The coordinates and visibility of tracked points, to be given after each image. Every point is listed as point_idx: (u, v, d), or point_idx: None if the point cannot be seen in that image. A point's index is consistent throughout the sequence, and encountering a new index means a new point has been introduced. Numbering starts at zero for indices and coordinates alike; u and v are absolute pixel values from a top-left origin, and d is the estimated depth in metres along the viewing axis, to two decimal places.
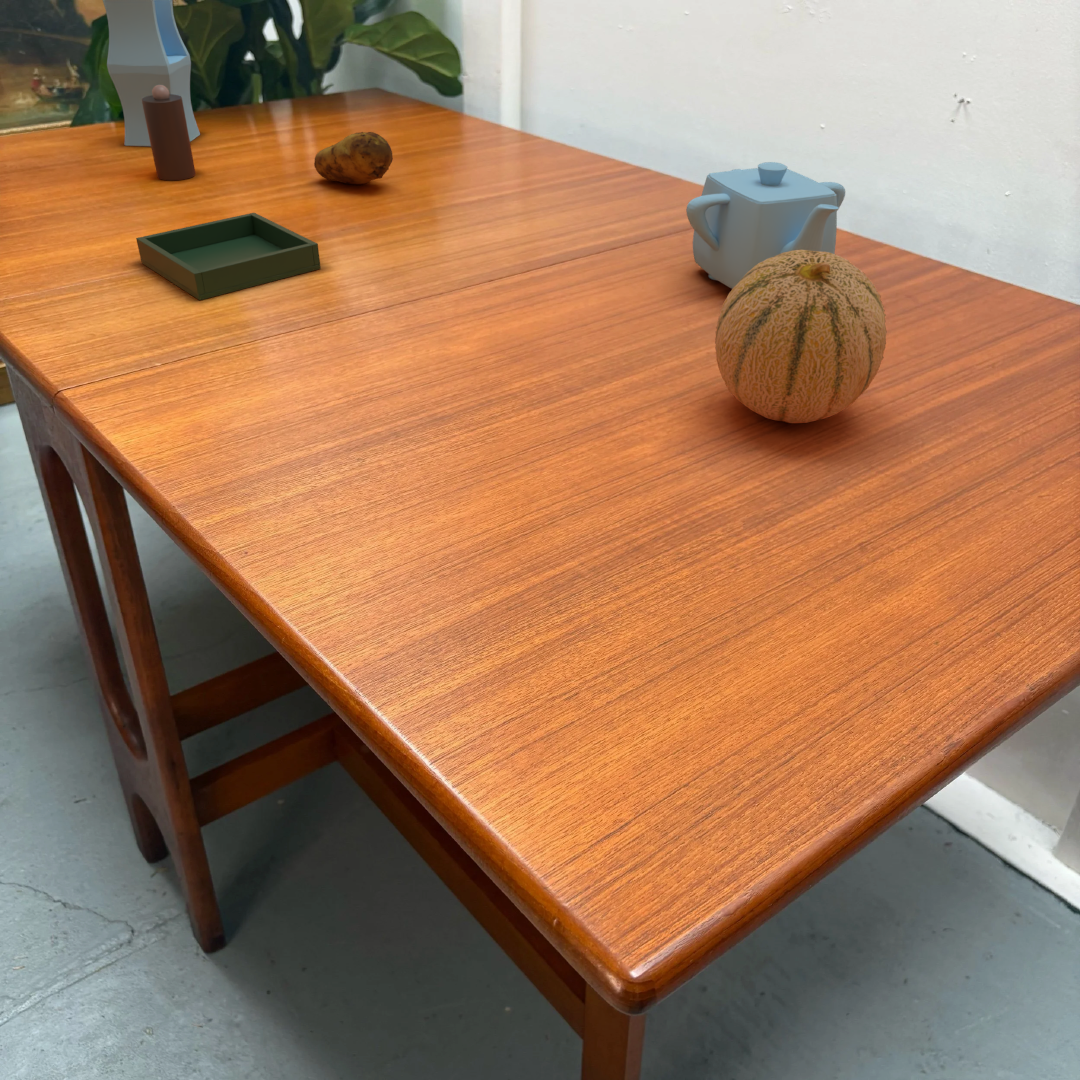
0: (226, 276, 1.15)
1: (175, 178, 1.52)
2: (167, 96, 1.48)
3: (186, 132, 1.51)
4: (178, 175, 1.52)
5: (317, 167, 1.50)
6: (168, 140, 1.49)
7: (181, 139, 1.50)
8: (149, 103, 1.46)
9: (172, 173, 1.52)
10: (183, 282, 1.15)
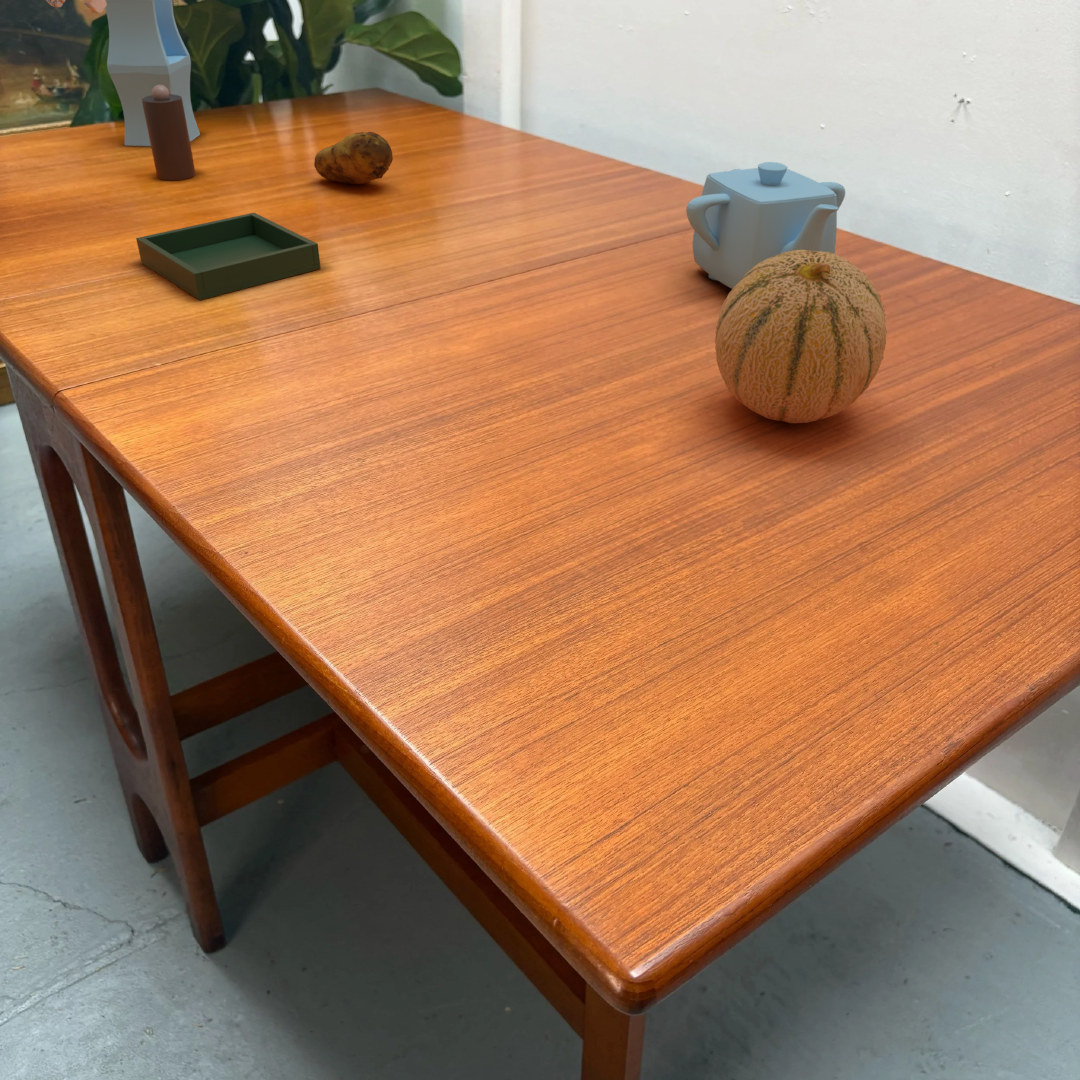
0: (226, 276, 1.15)
1: (175, 178, 1.52)
2: (167, 96, 1.48)
3: (186, 132, 1.51)
4: (178, 175, 1.52)
5: (317, 167, 1.50)
6: (168, 140, 1.49)
7: (181, 139, 1.50)
8: (149, 103, 1.46)
9: (172, 173, 1.52)
10: (183, 282, 1.15)
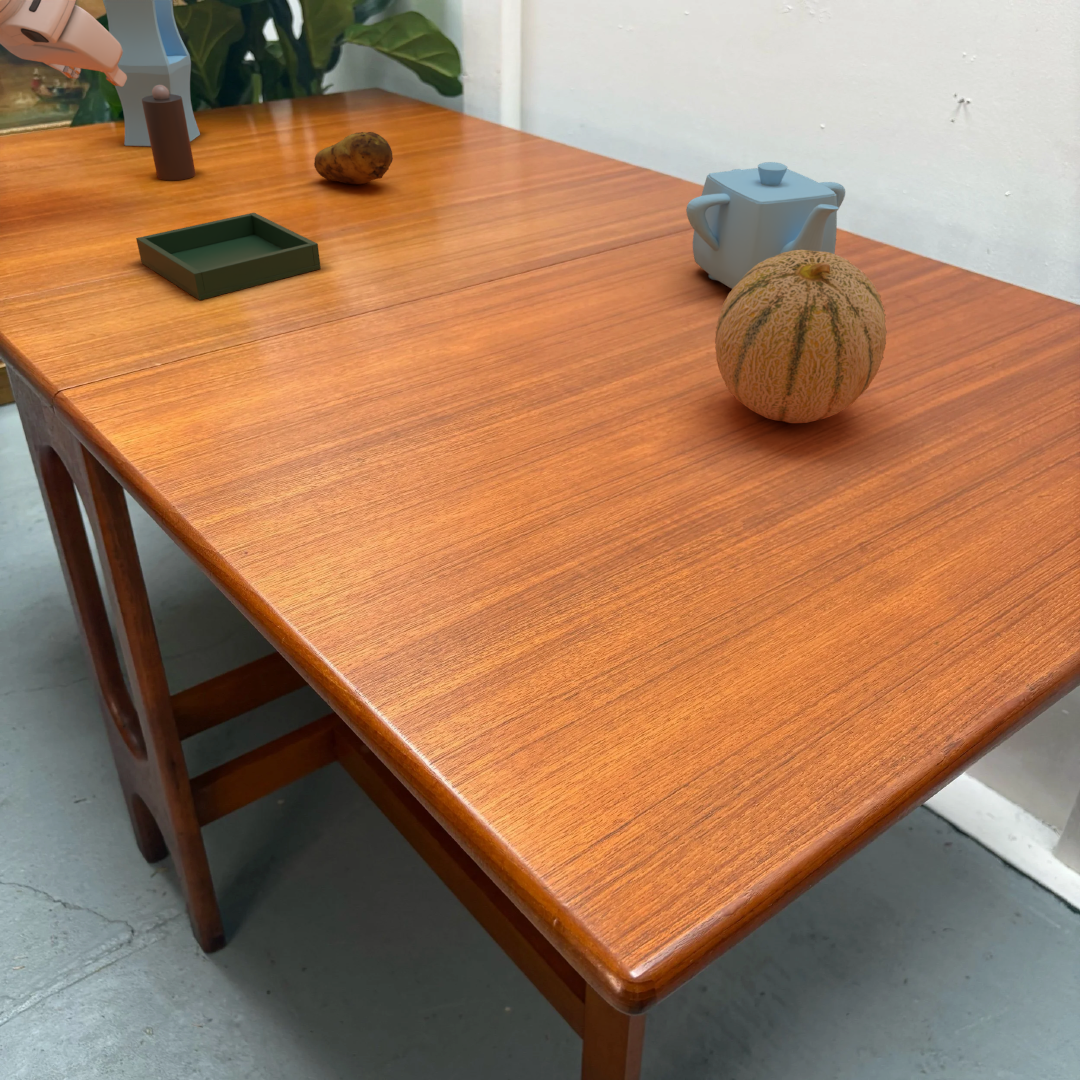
0: (226, 276, 1.15)
1: (175, 178, 1.52)
2: (167, 96, 1.48)
3: (186, 132, 1.51)
4: (178, 175, 1.52)
5: (317, 167, 1.50)
6: (168, 140, 1.49)
7: (181, 139, 1.50)
8: (149, 103, 1.46)
9: (172, 173, 1.52)
10: (183, 282, 1.15)
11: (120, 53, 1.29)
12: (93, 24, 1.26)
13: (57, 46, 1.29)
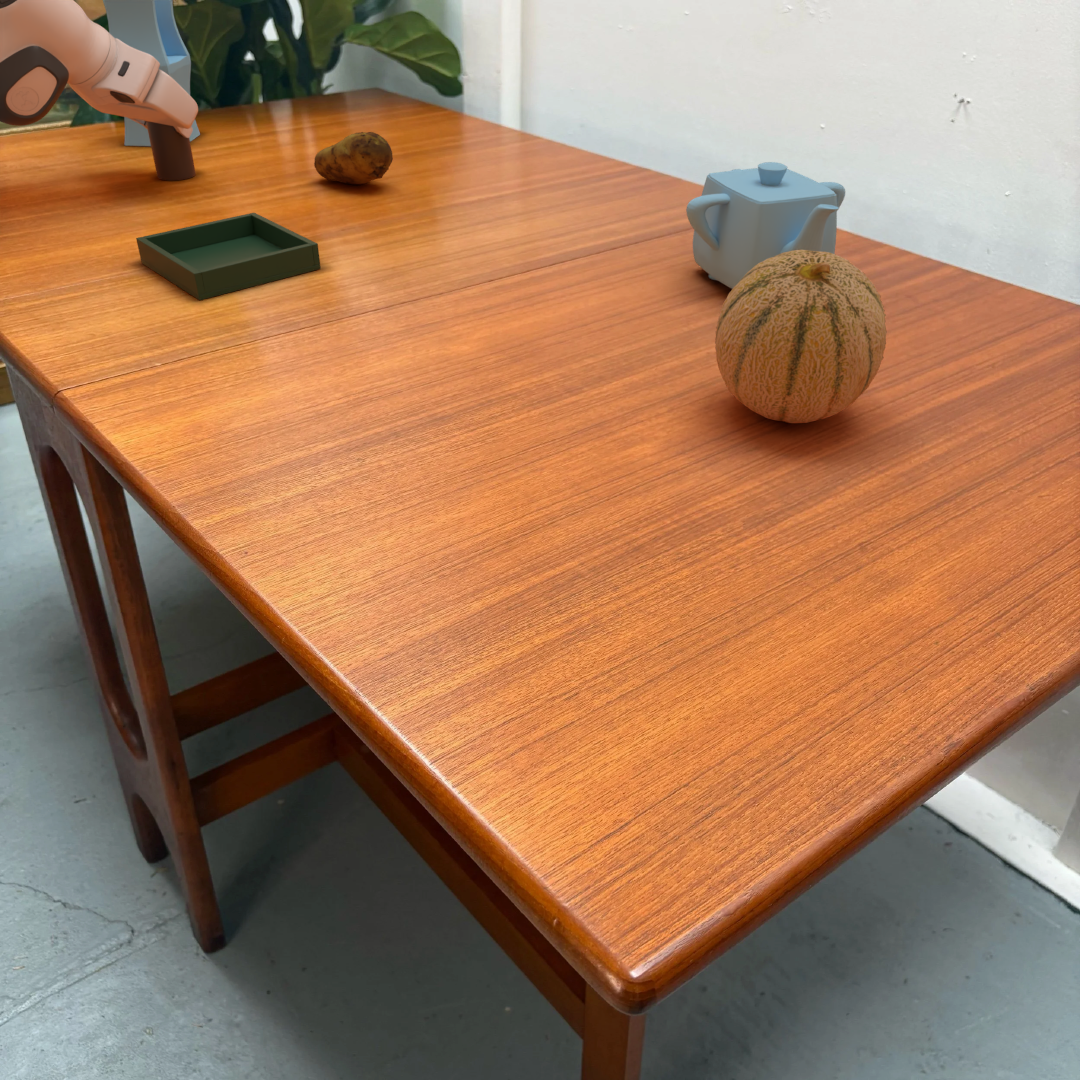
0: (226, 276, 1.15)
1: (175, 178, 1.52)
2: None
3: None
4: (178, 175, 1.52)
5: (317, 167, 1.50)
6: (168, 140, 1.49)
7: (181, 139, 1.50)
8: None
9: (172, 173, 1.52)
10: (183, 282, 1.15)
11: (196, 111, 1.42)
12: (174, 86, 1.38)
13: (139, 104, 1.42)
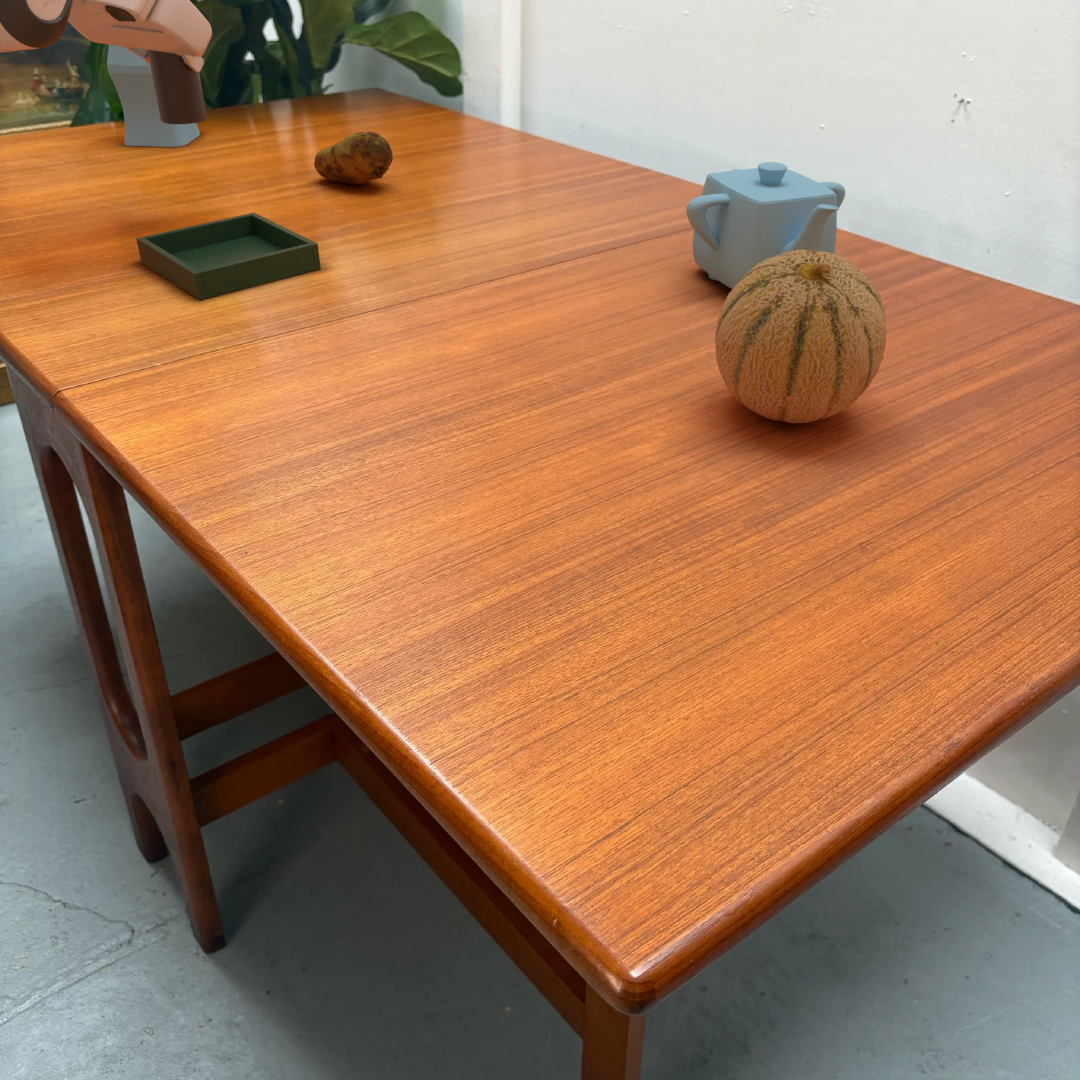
0: (226, 276, 1.15)
1: (183, 121, 1.27)
2: None
3: None
4: (187, 117, 1.27)
5: (317, 167, 1.50)
6: (175, 74, 1.24)
7: (190, 73, 1.25)
8: None
9: (179, 115, 1.26)
10: (183, 282, 1.15)
11: (210, 35, 1.17)
12: (184, 2, 1.13)
13: (140, 27, 1.16)
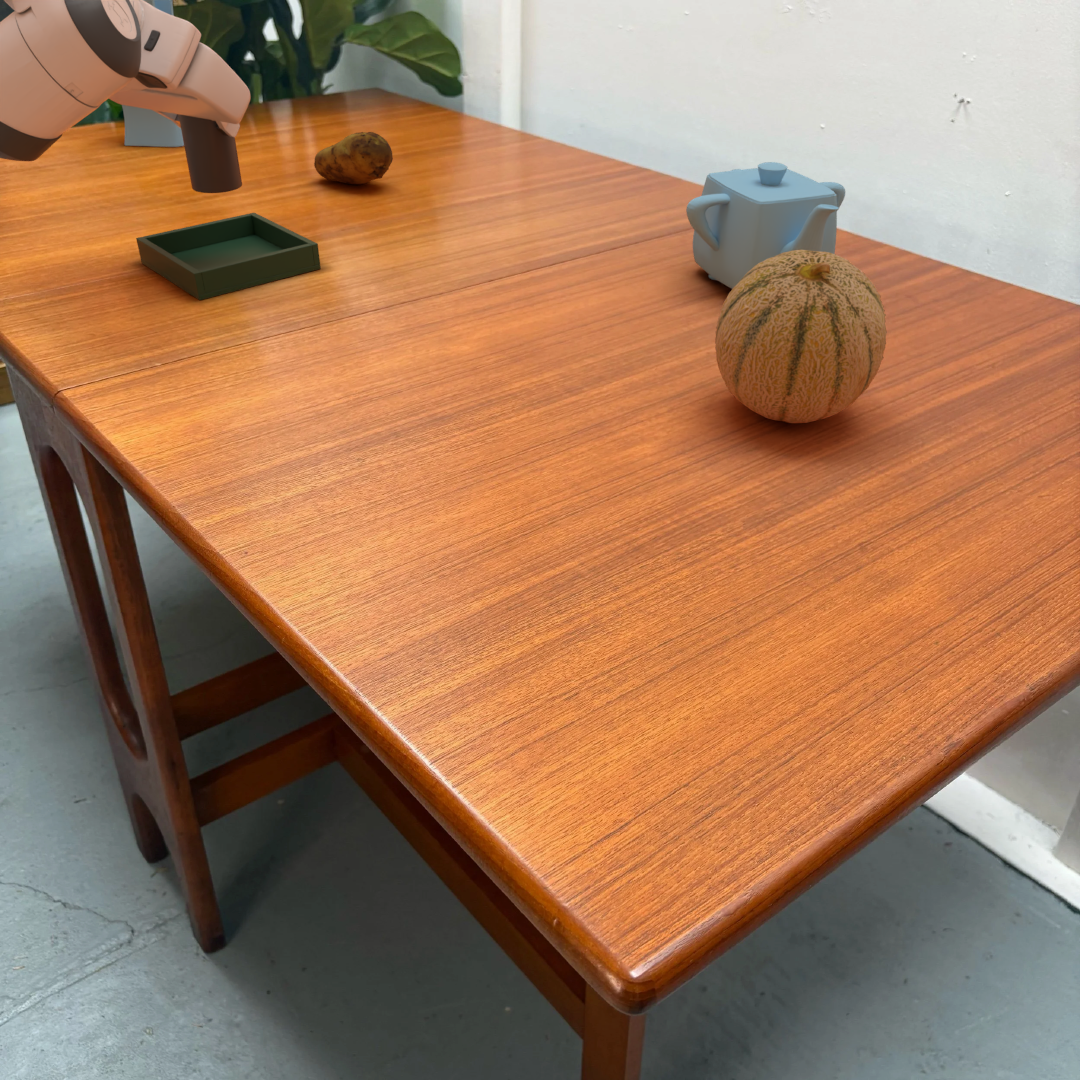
0: (226, 276, 1.15)
1: (216, 190, 1.15)
2: None
3: None
4: (221, 186, 1.15)
5: (317, 167, 1.50)
6: (208, 139, 1.12)
7: (225, 138, 1.13)
8: None
9: (213, 183, 1.15)
10: (183, 282, 1.15)
11: (248, 100, 1.05)
12: (220, 66, 1.01)
13: (171, 91, 1.05)
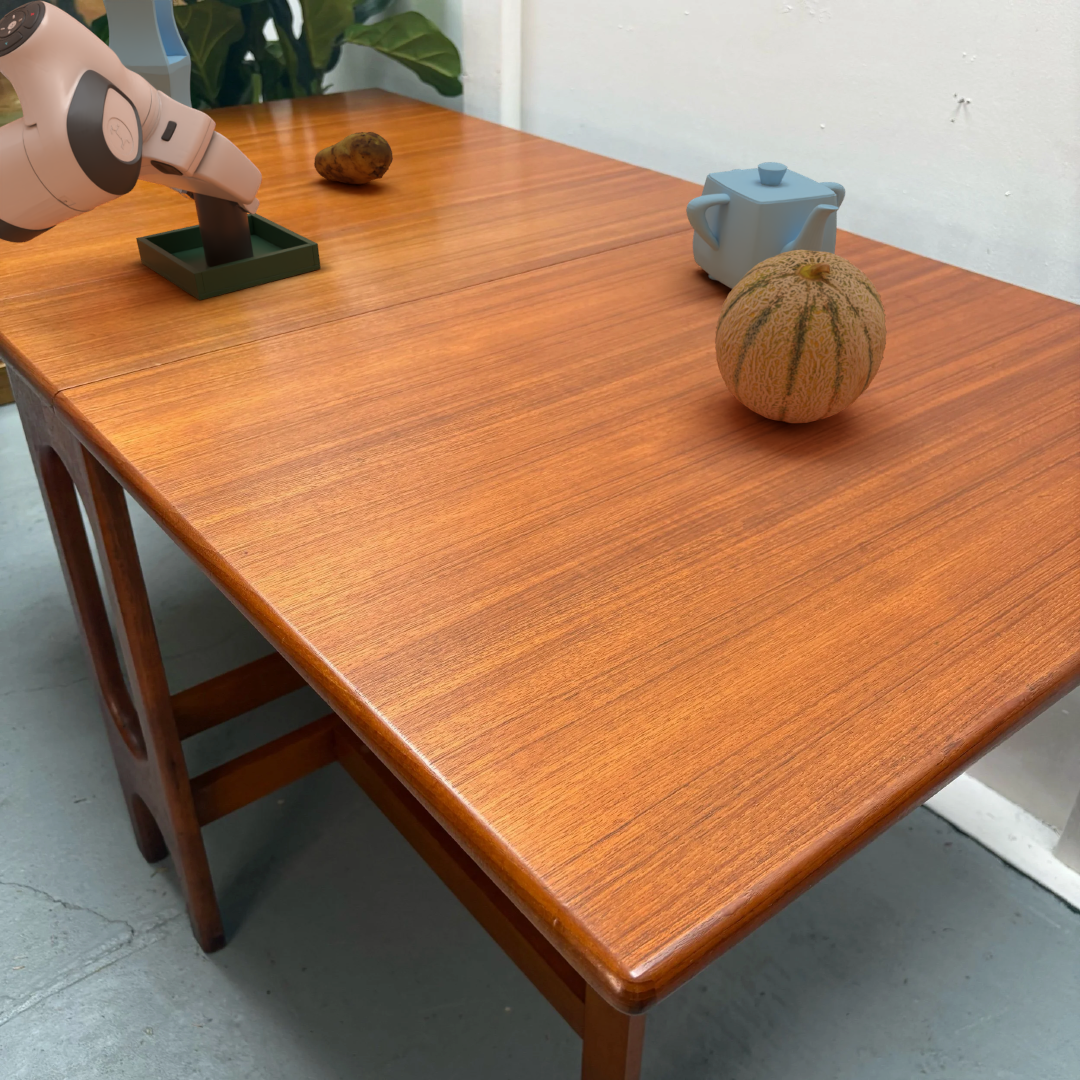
0: (226, 276, 1.15)
1: None
2: None
3: None
4: None
5: (317, 167, 1.50)
6: (222, 220, 1.17)
7: (238, 218, 1.18)
8: None
9: (226, 260, 1.19)
10: (183, 282, 1.15)
11: (260, 182, 1.10)
12: (233, 152, 1.06)
13: None
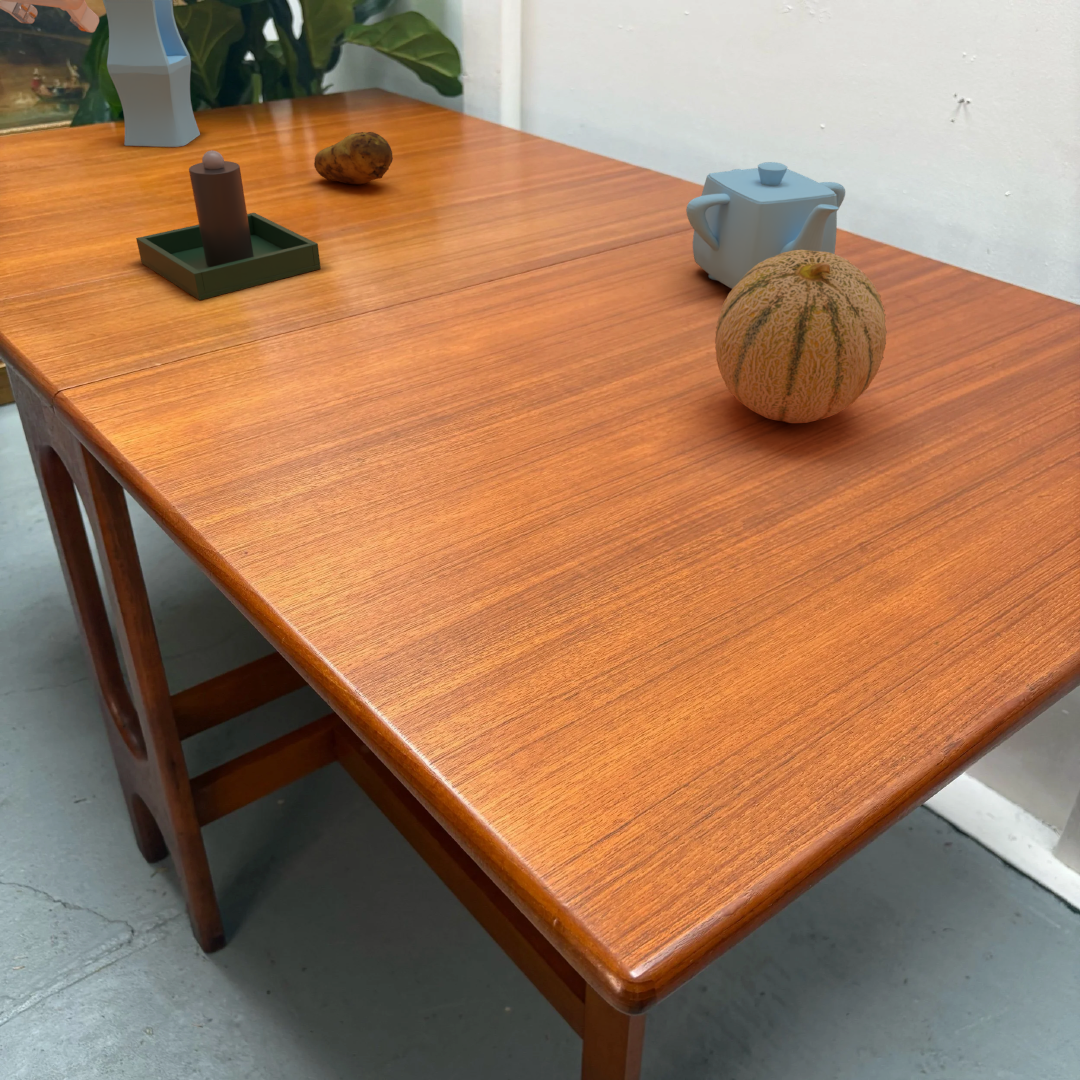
0: (226, 276, 1.15)
1: None
2: (221, 165, 1.15)
3: (244, 209, 1.19)
4: None
5: (317, 167, 1.50)
6: (222, 220, 1.17)
7: (238, 218, 1.18)
8: (199, 175, 1.14)
9: (226, 260, 1.19)
10: (183, 282, 1.15)
11: None
12: None
13: None
